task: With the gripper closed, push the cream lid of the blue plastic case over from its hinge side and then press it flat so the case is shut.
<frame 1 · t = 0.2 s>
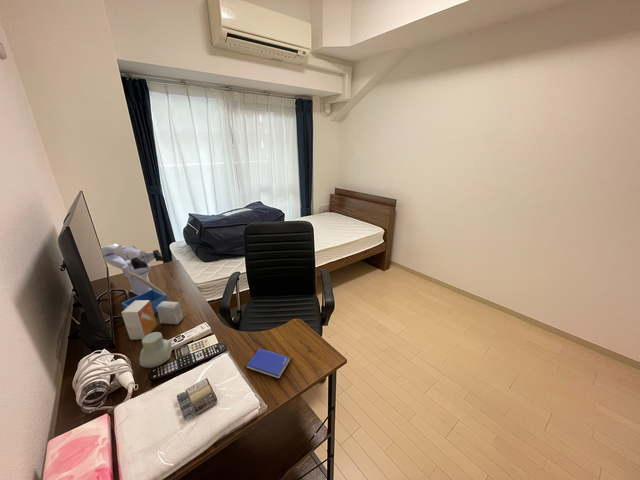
hand: (154, 262, 116), 21 cm above the table, tool horizontal, fingers open, 7 cm apart
hard drive: (268, 364, 88), on the table
air freshener: (158, 359, 90), on the table
lid: (147, 283, 115), point 12 cm above the table, hinge at 60.0°
small box: (144, 333, 103), on the table
medicine box: (172, 321, 110), on the table
case: (147, 309, 117), on the table
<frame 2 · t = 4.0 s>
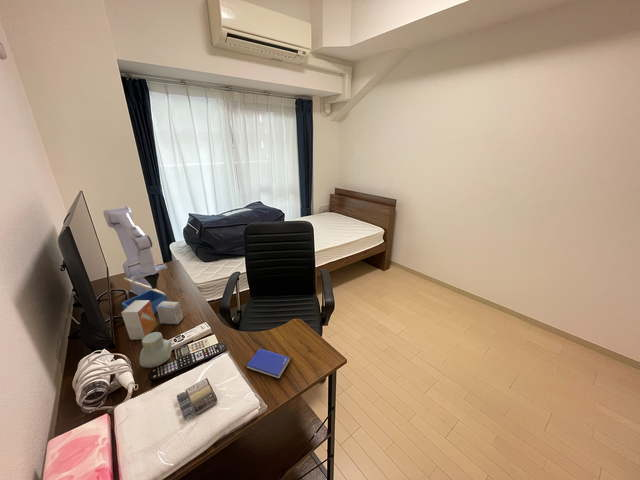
hand: (154, 287, 118), 9 cm above the table, tool pointing down, fingers closed
lid: (145, 286, 115), point 11 cm above the table, hinge at 47.1°, touching gripper
everything else where it was.
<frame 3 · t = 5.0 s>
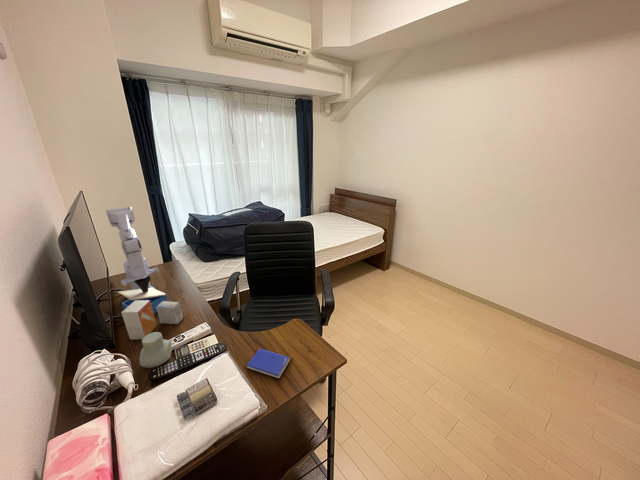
hand: (145, 292, 115), 9 cm above the table, tool pointing down, fingers closed
lid: (142, 293, 114), point 9 cm above the table, hinge at 21.5°
everything else where it was.
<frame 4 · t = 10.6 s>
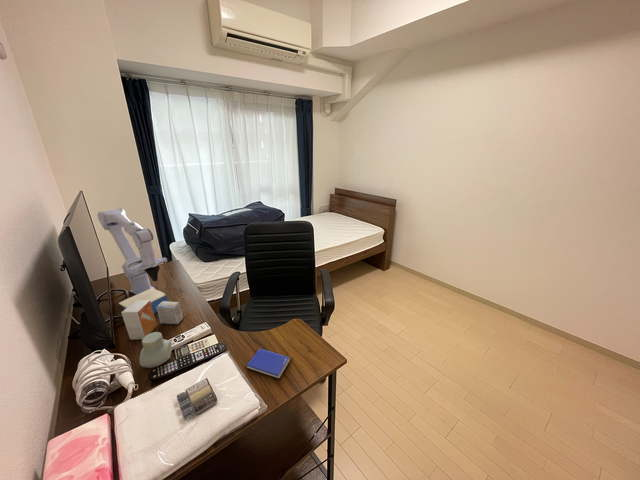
hand: (155, 280, 122), 10 cm above the table, tool pointing down, fingers closed
lid: (143, 298, 115), point 6 cm above the table, hinge at 0.0°
everything else where it was.
at the end: lid at +0° (first picture: +60°) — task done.
